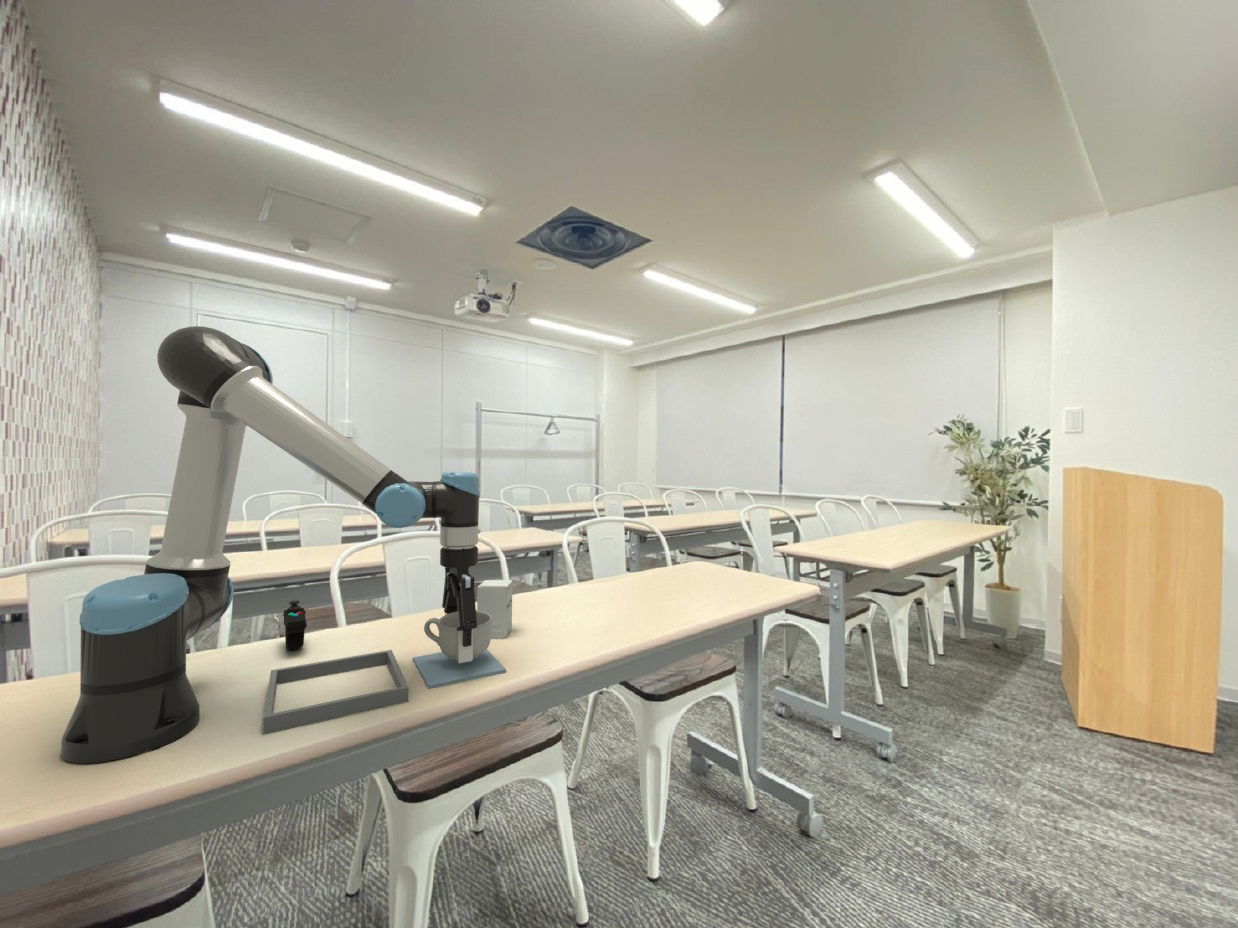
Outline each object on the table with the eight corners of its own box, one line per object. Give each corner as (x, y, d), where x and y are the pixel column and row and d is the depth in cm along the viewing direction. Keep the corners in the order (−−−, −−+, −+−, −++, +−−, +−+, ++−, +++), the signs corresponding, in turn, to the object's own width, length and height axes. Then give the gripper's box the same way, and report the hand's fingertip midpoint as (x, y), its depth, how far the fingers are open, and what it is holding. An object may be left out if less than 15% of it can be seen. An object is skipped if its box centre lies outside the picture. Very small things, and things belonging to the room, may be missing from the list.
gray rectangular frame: (262, 734, 77) (263, 717, 77) (270, 683, 95) (270, 670, 95) (408, 701, 88) (408, 687, 88) (391, 661, 106) (391, 649, 106)
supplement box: (506, 638, 121) (507, 586, 121) (475, 638, 121) (476, 586, 121) (512, 628, 128) (513, 579, 129) (483, 628, 128) (484, 579, 128)
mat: (428, 688, 94) (428, 685, 94) (412, 660, 107) (412, 657, 107) (506, 672, 101) (506, 669, 101) (482, 647, 115) (482, 644, 115)
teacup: (500, 648, 109) (500, 611, 109) (475, 668, 99) (476, 627, 99) (442, 643, 112) (443, 607, 112) (412, 661, 102) (413, 621, 102)
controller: (304, 639, 119) (304, 597, 119) (307, 655, 109) (308, 609, 109) (282, 643, 116) (282, 600, 116) (284, 660, 106) (284, 613, 106)
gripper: (494, 553, 97) (493, 667, 96) (462, 537, 116) (461, 633, 116) (455, 556, 93) (453, 676, 92) (428, 540, 112) (427, 638, 112)
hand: (457, 652), depth 104 cm, fingers closed on teacup, 11 cm apart
